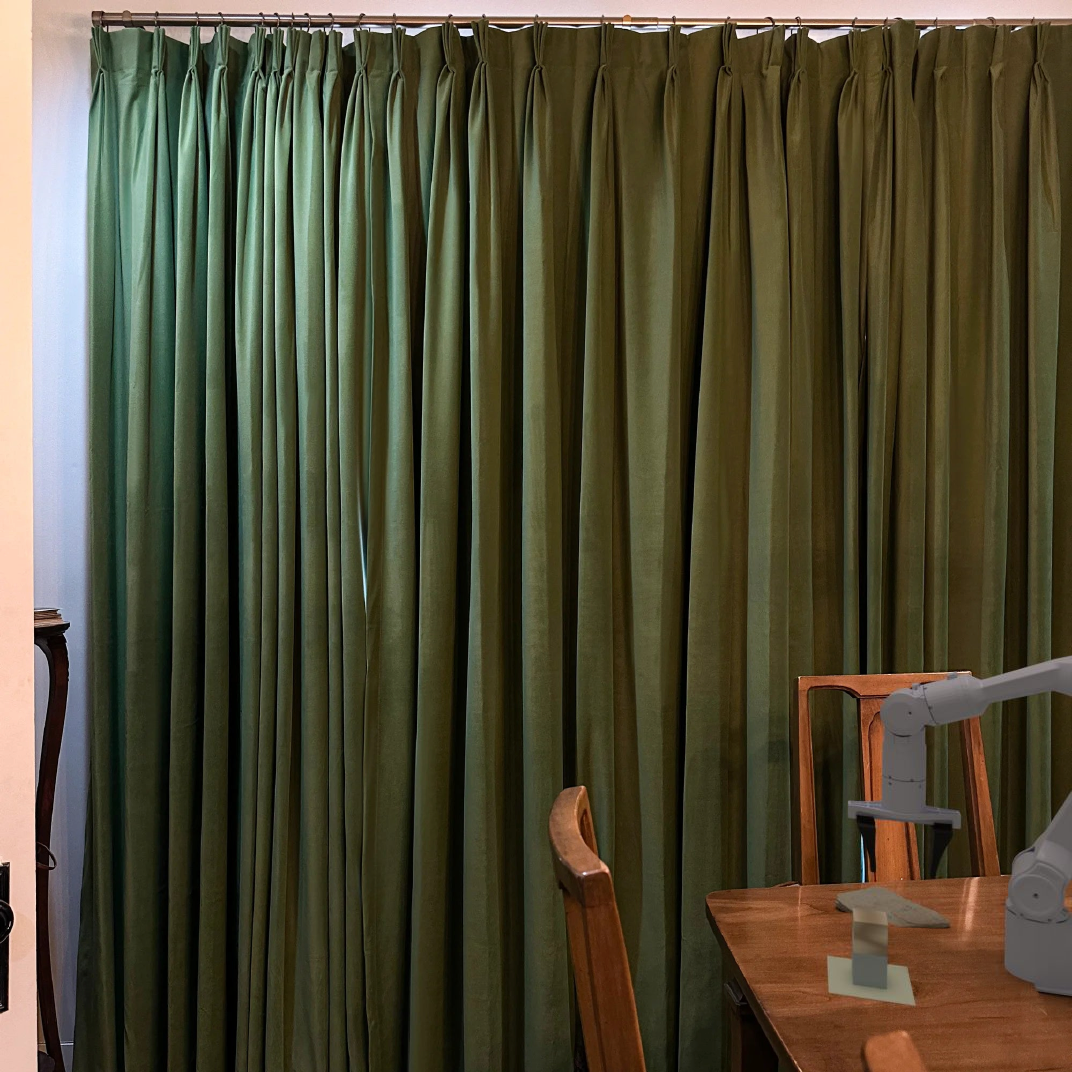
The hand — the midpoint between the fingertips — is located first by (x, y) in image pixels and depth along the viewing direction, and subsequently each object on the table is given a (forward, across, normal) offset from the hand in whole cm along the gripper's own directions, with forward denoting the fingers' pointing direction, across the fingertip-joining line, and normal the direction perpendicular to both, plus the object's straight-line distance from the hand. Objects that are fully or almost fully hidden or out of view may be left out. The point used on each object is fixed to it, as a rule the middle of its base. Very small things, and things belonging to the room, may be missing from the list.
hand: (902, 873), depth 127 cm
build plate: (+10, +5, +13) cm, 17 cm away
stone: (+11, +1, -11) cm, 15 cm away
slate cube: (+9, +5, +13) cm, 17 cm away
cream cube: (+5, +5, +13) cm, 15 cm away
